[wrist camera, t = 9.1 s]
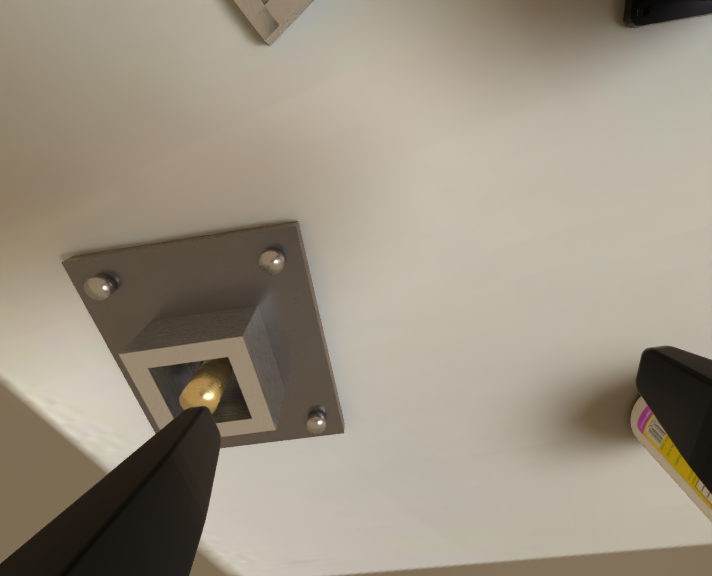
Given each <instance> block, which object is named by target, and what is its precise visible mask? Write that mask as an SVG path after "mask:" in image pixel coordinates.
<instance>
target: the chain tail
mask: <svg viewBox="0 0 712 576" xmlns="http://www.w3.org/2000/svg"><path fill="white" fill-rule="evenodd" d="M312 1H313V0H269V1H268V2H267V3H266V4H264V3H263V2H262V0H234V2H235V3H236V4H237V6H238V7H239V8H240V10H241V11H242V12H243V13H244V15H245V16H246V17H247V19H248V20H249V21H250V23H251V24H252V25H253V27H254V28H255V29H256V31H257V32H258V33H259V34H260V36H261V37H262V38H263V40H264V41H265V42H266V43H267V44H269V45H271V44H272V43H273V42H274V41H275V40H276V39H277V38H278V37H279V35H280V34H281V33H282V32H283V31H284V30H285V29H286V28H287V27H288V26H289V25H290V24H291V23H292V22H293V21H294V20H295V19H296V18H297V17H298V16H299V15H300V14H301V13H302V12H303V11H304V9H305V8H306V7H307V6H308V5H309V4H310V3H311V2H312Z"/></svg>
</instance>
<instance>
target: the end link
mask: <svg viewBox="0 0 712 576" xmlns="http://www.w3.org/2000/svg"><path fill="white" fill-rule="evenodd" d="M119 356H120V358H121V360H122V361H123V363H124V365H125V367H126V369H127V371H128V372H129V374H130V376H131V378H132V380H133V381H134V383H135V385H136V387H137V389H138V391H139V392H140V394H141V396H142V398H143V400H144V401H145V403H146V405H147V407H148V409H149V411H150V412H151V414H152V416H153V418H154V420H155V421H156V423H157V425H158V427H159V429H160V430H161V429H162V428H164V427H165V426H166V425H167V424H168V423H170V422H171V421H172V420H173V419H174V418H176V417H177V416H178V415H179V414H180V413H182V412H183V411H184V409H183V408H182V407H181V405H180V403H179V397H180V395H181V393H182V392H183V390H184V388H185V387H186V385H187V383H188V382H189V380H190V378H191V377H192V375H193V372H192V370H191V368H190V366H189V362H196V361H203V360H210V359H217V358H224V357H229V360H230V363H231V365H232V368H233V370H234V373H235V375H236V378H237V381H238V383H239V384H234V385H227V386H226V388H225V390H224V392H223V395H222V397H221V399H220V401H219V403H218V405H217V408H216V410H215V411H214V412H213V413H212V416H213V418H214V420H215V422H216V425H217V427H218V429H219V432H220V435H221V437H225V436H233V435H241V434H249V433H256V432H264V431H272V430H276V427H277V423H278V419H279V415H280V410H281V406H282V402H283V398H284V394H285V389H284V386H283V383H282V380H281V376H280V373H279V370H278V367H277V364H276V361H275V358H274V355H273V351H272V348H271V345H270V342H269V339H268V336H267V333H266V330H265V326H264V323H263V320H262V317H261V314H260V311H259V308H258V305H255V306H248V307H242V308H235V309H228V310H222V311H215V312H209V313H202V314H195V315H189V316H182V317H175V318H169V319H162V320H155V321H150V322H149V323H148V324H147V325H146V327H145V328H144V329H143V330H142V331H141V332H140V333H139V334H138V335H137V336H136V337H135V338H134V339H133V340H132V341H131V342H130V343H129V344H128V345H127V346H126V347H125V348H124V349H123V350H122V351H121V352H120V353H119Z"/></svg>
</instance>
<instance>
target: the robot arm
mask: <svg viewBox="0 0 712 576" xmlns="http://www.w3.org/2000/svg"><path fill="white" fill-rule="evenodd" d="M640 5H641V6H642V7H643V14H642V16H641V17H640V18H639V17H638V16H637V10H638V8H639V6H640ZM711 14H712V0H626V2H625V10H624V22H625V24H626V26H628V27H629V28H638V27H643V26H649V25H654V24H660V23H666V22H671V21H677V20H683V19H688V18H694V17H700V16H705V15H711ZM636 386H637V389H638V392H639V393H640V395H641V396H642V398H643V399H644V401H645V402H646V404H647V405H648V407H649V408H650V410H651V411H652V413H653V414H654V416H655V417H656V419H657V420H658V422H659V423H660V425H661V426H662V428H663V429H664V431H665V432H666V434H667V435H668V437H669V438H670V440H671V441H672V443H673V444H674V446H675V447H676V449H677V450H678V452H679V453H680V454H681V456H682V457H683V459H684V460H685V461H686V463H687V464H688V466H689V467H690V468H691V469H692V471H693V472H694V473H695V475H696V476H697V477H698V478H699V480H700V481H701V482H702V483H703V485H704V486H705V487H706V488H707V490H708V491H709V492H710V493H711V494H712V360H710V359H707V358H705V357H702V356H699V355H696V354H693V353H690V352H687V351H684V350H681V349H678V348H675V347H672V346H659V347H651V348H647V349H645V350H644V351H643V352H642V355H641V359H640V363H639V368H638V372H637V376H636ZM220 445H221V435H220V432H219V429H218V427H217V425H216V422H215V420H214V418H213V416H212V413H211V411H210V409H209V408H208V407H206V406H198V407H191V408H187V409H185V410H184V411H183V412H182V413H180V414H179V415H178V416H177V417H176V418H174V419H173V420H172V421H171V422H170V423H168V424H167V425H166V426H165V427H164V428H162V429H161V430H160V431H159V432H158V433H156V434H155V435H154V436H153V437H152V438H150V439H149V440H148V441H147V442H146V443H144V444H143V445H142V446H141V447H140V448H138V449H137V450H136V451H135V452H134V453H132V454H131V455H130V456H129V457H128V458H126V459H125V460H124V461H123V462H122V463H120V464H119V465H118V466H117V467H116V468H114V469H113V470H112V471H111V472H110V473H108V474H107V475H106V476H105V477H104V478H103V479H102V480H100V481H99V482H98V483H96V484H95V485H94V486H93V487H92V488H91V489H90V490H88V491H87V492H86V493H85V494H83V495H82V496H81V497H80V498H79V499H77V500H76V501H75V502H74V503H73V504H71V505H70V506H69V507H68V508H67V509H66V510H64V511H63V512H62V513H61V514H59V515H58V516H57V517H56V518H55V519H53V520H52V521H51V522H50V523H49V524H47V525H46V526H45V527H44V528H43V529H41V530H40V531H39V532H38V533H37V534H35V535H34V536H33V537H32V538H31V539H30V540H28V541H27V542H26V543H25V544H23V545H22V546H21V547H20V548H19V549H17V550H16V551H15V552H14V553H13V554H11V555H10V556H9V557H8V558H7V559H5V560H4V561H3V562H2V563H1V564H0V576H189V574H190V571H191V567H192V564H193V561H194V557H195V554H196V551H197V548H198V544H199V541H200V538H201V534H202V531H203V527H204V523H205V520H206V516H207V511H208V507H209V502H210V497H211V492H212V486H213V481H214V476H215V471H216V466H217V461H218V456H219V450H220Z"/></svg>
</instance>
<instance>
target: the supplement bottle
mask: <svg viewBox="0 0 712 576" xmlns="http://www.w3.org/2000/svg"><path fill="white" fill-rule="evenodd" d="M630 423H631V428H632V431H633V433H634V435H635V436H636V438H637V439H638V440H639V441H640V443H641V444H642V445H643V446H644V447H645V448H646V449H647V451H648V452H649V453H650V454H651V455H652V456H653V458H654V459H655V460H656V461H657V462H658V463H659V464H660V465H661V467H662V468H663V469H664V470H665V471H666V472H667V473H668V474H669V475H670V477H671V478H672V479H673V480H674V481H675V482H676V483H677V484H678V485H679V487H680V488H681V489H682V490H683V491H684V492H685V493H686V494H687V495H688V497H689V498H690V499H691V500H692V501H693V502H694V503H695V504H696V506H697V507H698V508H699V509H700V510H701V511H702V512H703V513H704V515H705V516H706V517H707V518H708V519H709V520H710V521H711V522H712V494H711V493H710V492H709V491H708V490H707V488H706V487H705V486H704V485H703V483H702V482H701V481H700V480H699V478H698V477H697V476H696V475H695V473H694V472H693V471H692V469H691V468H690V467H689V466H688V464H687V463H686V461H685V460H684V459H683V457H682V456H681V454H680V453H679V452H678V450H677V449H676V447H675V446H674V444H673V443H672V441H671V440H670V438H669V437H668V435H667V434H666V432H665V431H664V429H663V428H662V426H661V425H660V423H659V422H658V420H657V419H656V417H655V416H654V414H653V413H652V411H651V410H650V408H649V407H648V405H647V404H646V402H645V401H644V399H643V398H642V396H640V398H639V399H638V400H637V402H636V403H635V405H634V407H633V410H632V413H631V418H630Z"/></svg>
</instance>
